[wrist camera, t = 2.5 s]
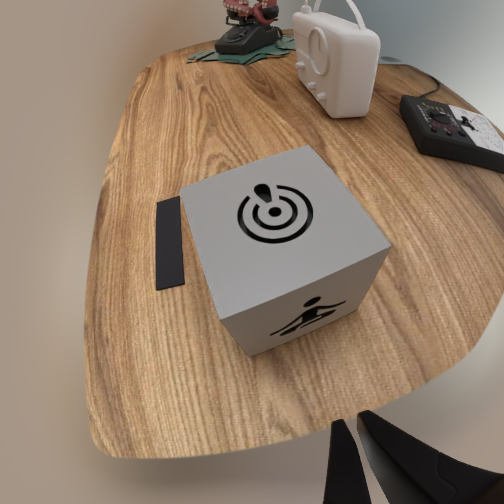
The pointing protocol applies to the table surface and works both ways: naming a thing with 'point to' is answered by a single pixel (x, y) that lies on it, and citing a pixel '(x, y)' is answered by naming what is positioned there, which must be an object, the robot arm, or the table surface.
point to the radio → (336, 60)
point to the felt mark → (169, 244)
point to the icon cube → (282, 247)
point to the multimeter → (453, 133)
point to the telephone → (249, 33)
